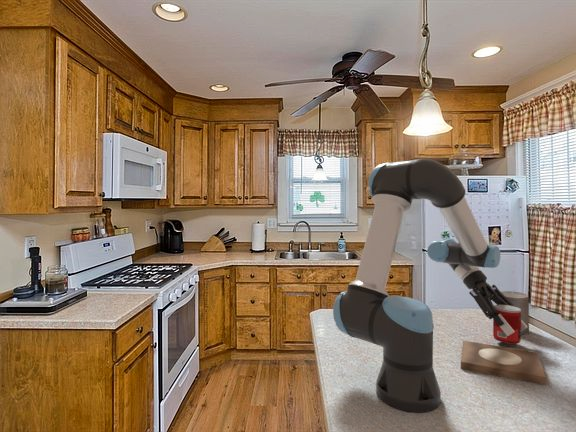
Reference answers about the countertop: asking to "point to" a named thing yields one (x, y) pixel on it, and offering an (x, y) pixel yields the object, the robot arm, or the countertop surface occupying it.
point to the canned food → (513, 320)
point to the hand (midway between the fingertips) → (517, 331)
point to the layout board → (502, 362)
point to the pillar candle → (520, 305)
